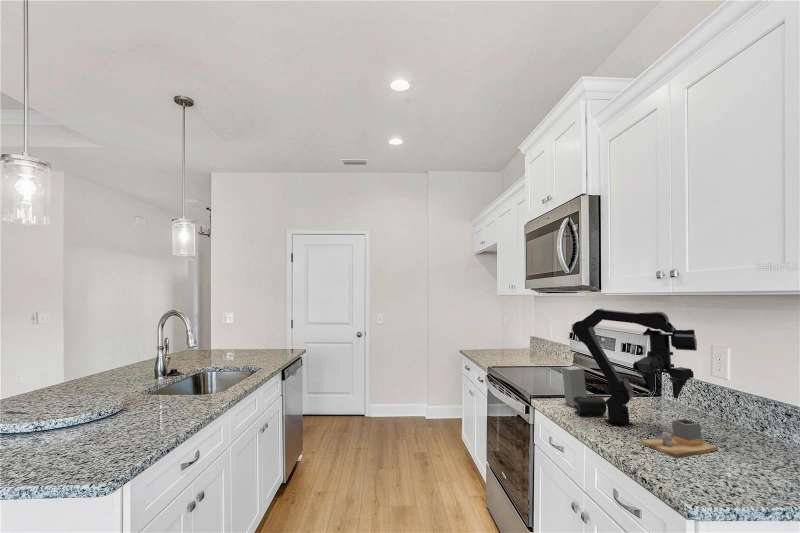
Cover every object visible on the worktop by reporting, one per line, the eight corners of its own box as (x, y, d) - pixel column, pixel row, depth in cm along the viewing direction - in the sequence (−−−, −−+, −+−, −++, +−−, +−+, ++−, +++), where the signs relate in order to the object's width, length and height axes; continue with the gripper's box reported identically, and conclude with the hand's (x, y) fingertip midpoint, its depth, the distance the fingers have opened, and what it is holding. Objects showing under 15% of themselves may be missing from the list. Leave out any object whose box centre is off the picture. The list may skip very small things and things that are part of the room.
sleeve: (686, 438, 128) (684, 418, 128) (701, 443, 123) (700, 423, 123) (673, 440, 126) (672, 420, 127) (689, 445, 121) (687, 425, 122)
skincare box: (588, 407, 167) (586, 368, 168) (571, 408, 167) (569, 369, 168) (580, 402, 175) (577, 365, 176) (563, 402, 175) (561, 365, 177)
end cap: (580, 418, 154) (579, 399, 155) (573, 412, 161) (572, 395, 162) (607, 417, 154) (606, 399, 154) (598, 412, 161) (597, 394, 162)
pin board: (640, 443, 127) (639, 428, 127) (679, 437, 131) (678, 423, 132) (675, 457, 115) (674, 441, 116) (717, 450, 120) (716, 435, 120)
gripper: (619, 347, 146) (622, 391, 145) (666, 353, 128) (669, 404, 127) (644, 345, 149) (647, 388, 148) (693, 351, 131) (696, 400, 130)
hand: (663, 395), depth 138 cm, fingers open, 9 cm apart
